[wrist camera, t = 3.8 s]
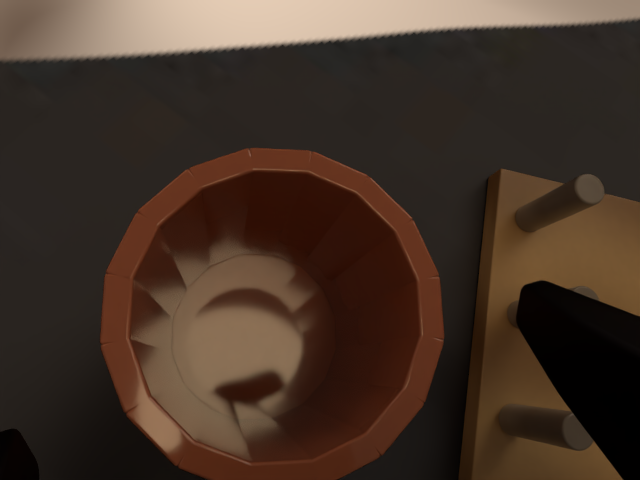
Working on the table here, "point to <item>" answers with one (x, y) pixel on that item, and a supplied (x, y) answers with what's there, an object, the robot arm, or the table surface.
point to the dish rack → (508, 342)
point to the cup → (271, 318)
